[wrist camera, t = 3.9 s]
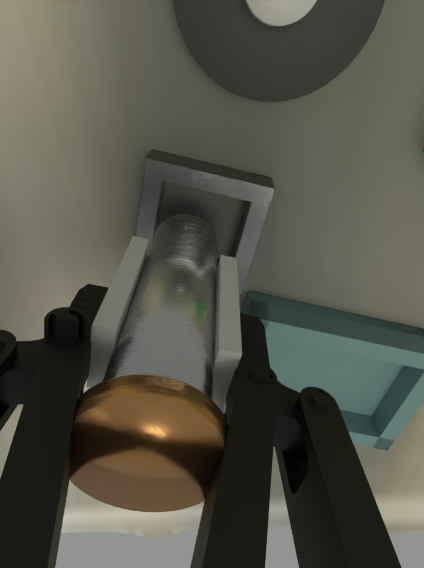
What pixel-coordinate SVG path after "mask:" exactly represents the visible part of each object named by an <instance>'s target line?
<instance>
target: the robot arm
mask: <svg viewBox="0 0 424 568" xmlns="http://www.w3.org/2000/svg"><path fill="white" fill-rule="evenodd" d="M148 245H149V239H145V238H140V237H135V236H132V239H131V241H130V243H129V245H128V247H127V250H126V252H125V254H124V256H123V258H122V260H121V263H120V265H119V267H118V269H117V271H116V274H115V276H114V278H113V280H112V282H111V285H110V287H109V288H107V287H102V286H97V285H92V284H87V285H86V286H84V287H83V288H81V289H80V290H79V291H78V293H77V294H76V296H75V298H74V300H73V301H72V303H71V306H70V307H61V308H58V309H54V310H52V311H51V312H49V313H48V314H47V315H46V316H45V318H44V338H43V339H40V340H34V341H16V337H15V336H14V335H13V334H12V333H10V332H8V331H5V330H0V431H1V429H2V428H3V426H4V425H5V423H6V422H7V420H8V419H9V417H10V416H11V414H12V413H13V411H14V410H15V408H16V407H17V405H19V404H24V405H23V408H22V411H21V415H20V418H19V421H18V424H17V427H16V431H15V434H14V437H13V440H12V444H11V447H10V450H9V453H8V456H7V460H6V463H5V466H4V469H3V472H2V476H1V479H0V568H55V564H56V558H57V552H58V546H59V540H60V534H61V528H62V521H63V515H64V509H65V503H66V497H67V491H68V485H69V476H70V461H71V446H72V430H73V421H74V416H75V411H76V407H77V402H78V399H79V398H80V397H81V396H82V395H83V388H84V385H85V382H86V380H87V387H93V386H95V385H97V384H98V383H101V382H102V381H103V379H104V376H105V373H106V370H107V367H108V364H109V362H110V359H111V356H112V354H113V352H114V349H115V346H116V343H117V340H118V337H119V334H120V332H121V329H122V326H123V323H124V320H125V317H126V314H127V312H128V309H129V306H130V303H131V300H132V297H133V295H134V292H135V289H136V286H137V283H138V280H139V277H140V275H141V272H142V269H143V266H144V263H145V260H146V257H147V252H148ZM265 335H266V333H265V326H264V324H263V323H262V321H261V320H260V319H259V317H256V316H251V315H246V314H241V313H240V307H239V289H238V271H237V258H234V257H229V256H224V255H221V256H220V259H219V263H218V267H217V271H216V294H215V322H214V351H213V383H212V400H213V401H214V402H215V403H216V404H217V405H218V407H219V408H220V409H221V410H223V407H224V404H225V401H226V411H225V414H224V416H225V418H226V421H227V424H228V428H227V436H226V443H225V449H224V452H223V454H222V457H221V460H220V462H219V465H218V468H217V470H216V473H215V475H214V478H213V481H212V483H211V486H210V488H209V491H208V494H207V496H206V499H205V502H204V507H203V511H202V516H201V521H200V525H199V530H198V535H197V539H196V544H195V548H194V553H193V558H192V562H191V567H190V568H265V558H266V544H267V530H268V515H269V501H270V487H271V472H272V458H273V446H274V447H276V455H277V459H278V464H279V469H280V474H281V479H282V484H283V489H284V494H285V499H286V504H287V509H288V514H289V519H290V524H291V529H292V534H293V539H294V544H295V549H296V554H297V559H298V564H299V568H401V565H400V563H399V560H398V558H397V555H396V552H395V550H394V547H393V545H392V542H391V540H390V537H389V534H388V532H387V529H386V527H385V524H384V522H383V519H382V516H381V514H380V511H379V509H378V506H377V504H376V501H375V498H374V496H373V493H372V491H371V488H370V486H369V483H368V481H367V478H366V475H365V473H364V470H363V468H362V465H361V463H360V460H359V457H358V455H357V452H356V450H355V447H354V445H353V442H352V439H351V437H350V434H349V432H348V429H347V427H346V424H345V422H344V419H343V416H342V414H341V411H340V409H339V406H338V404H337V402H336V400H335V399H334V398H333V397H332V396H331V395H330V394H329V393H328V392H326V391H324V390H323V389H321V388H317V387H306V388H304V389H302V391H301V392H300V393H299V392H297V391H295V390H293V389H290V388H288V387H286V386H285V385H283V384H281V383H280V382H279V381H278V380H277V375H276V374H275V372H274V371H273V370H272V369H271V368H270V363H269V355H268V348H267V343H266V342H267V341H266V336H265Z"/></svg>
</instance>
